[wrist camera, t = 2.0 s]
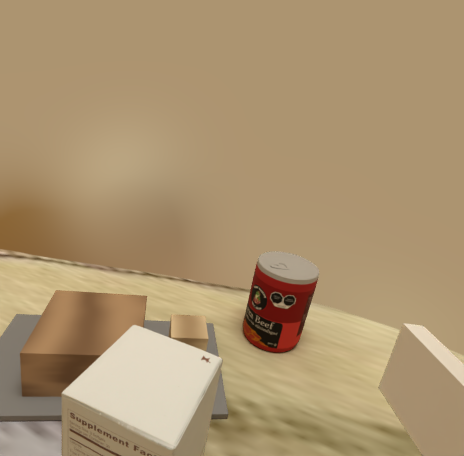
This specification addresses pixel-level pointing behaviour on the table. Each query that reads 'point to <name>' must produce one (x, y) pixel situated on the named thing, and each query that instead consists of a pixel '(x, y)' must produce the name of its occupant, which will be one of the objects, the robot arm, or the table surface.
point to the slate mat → (50, 408)
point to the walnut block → (74, 337)
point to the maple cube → (189, 330)
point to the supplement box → (141, 399)
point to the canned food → (279, 300)
